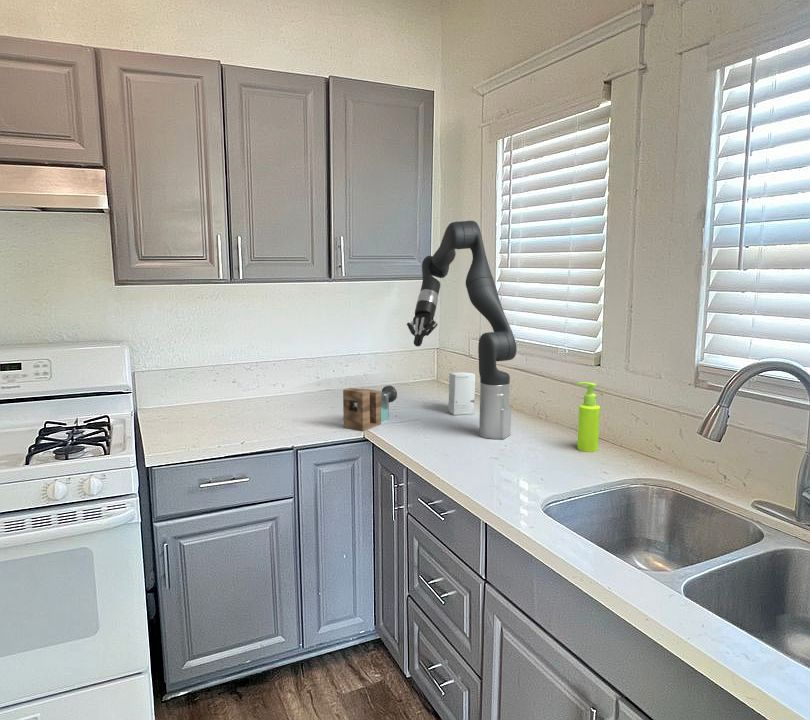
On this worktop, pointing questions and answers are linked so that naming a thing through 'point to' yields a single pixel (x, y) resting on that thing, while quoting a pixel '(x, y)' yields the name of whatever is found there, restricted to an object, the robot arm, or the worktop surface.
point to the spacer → (384, 414)
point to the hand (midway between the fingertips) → (417, 345)
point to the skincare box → (461, 393)
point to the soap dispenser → (588, 421)
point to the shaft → (383, 398)
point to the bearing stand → (361, 408)
